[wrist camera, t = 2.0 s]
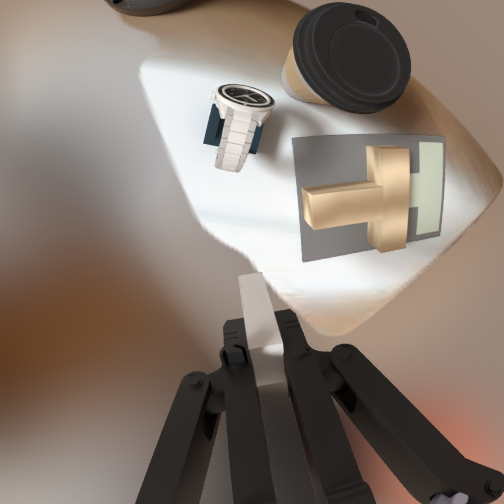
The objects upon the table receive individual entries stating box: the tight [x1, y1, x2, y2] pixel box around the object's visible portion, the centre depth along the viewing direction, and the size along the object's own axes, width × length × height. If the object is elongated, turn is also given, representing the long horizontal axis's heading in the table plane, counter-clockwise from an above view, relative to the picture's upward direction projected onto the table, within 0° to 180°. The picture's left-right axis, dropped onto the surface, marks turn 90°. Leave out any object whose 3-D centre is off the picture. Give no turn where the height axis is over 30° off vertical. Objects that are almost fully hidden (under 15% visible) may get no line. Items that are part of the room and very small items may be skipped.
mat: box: [292, 134, 445, 262], centre depth 34 cm, size 16×24×1 cm, turn 98°
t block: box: [302, 145, 410, 253], centre depth 32 cm, size 13×13×4 cm
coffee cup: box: [281, 2, 411, 114], centre depth 21 cm, size 9×9×15 cm
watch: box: [203, 84, 275, 172], centre depth 24 cm, size 6×8×11 cm
